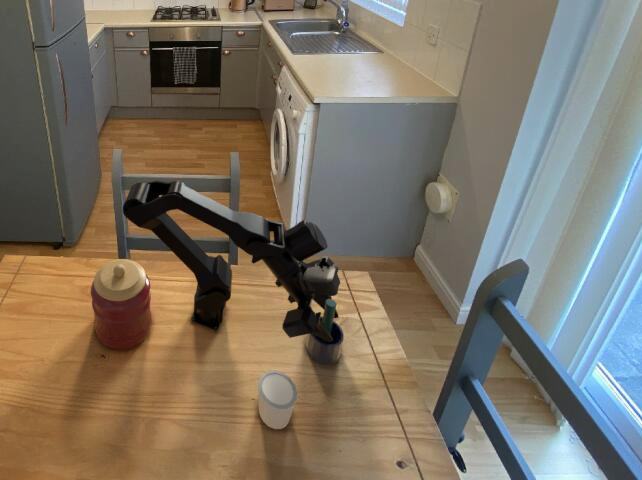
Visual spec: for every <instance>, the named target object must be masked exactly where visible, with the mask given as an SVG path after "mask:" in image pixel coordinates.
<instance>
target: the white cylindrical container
mask: <svg viewBox="0 0 642 480" xmlns="http://www.w3.org/2000/svg"><path fill="white" fill-rule="evenodd" d="M257 383H258V384H257V394H258V395H257V397H258V398H257V399H258V413H259V417H260V418H261V420H262V422H263V423H264V424H265V425H266V426H267V427H268V428H271V429H273V430H282V429H284V428H286V427H287V426H288V424H289V423H290V420H291V417H292V414H293V411H294V408H295V406H296V402H297V399H298V390H297V388H296V384H295V383H294V381H293V380H292V379H291V377H290V376H288V375H287V374H285V373H284V372H282V371H280V370H273V369H272V370H266V371H265V372H263V373H262V374H261V376H260V377H259V378H258V382H257Z"/></svg>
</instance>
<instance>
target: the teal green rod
mask: <svg viewBox="0 0 642 480" xmlns="http://www.w3.org/2000/svg"><path fill="white" fill-rule="evenodd" d="M335 309H336V310H337V302H336V301H335V300H334V299H327V300H326V303H325V309H323V315H322V317H323V319H322V323H323V325H324V326H325V327H326V329H327V330H328V332H329V333H330V334H331V329H332V324H333V321H334V319H335V318H334V314H335ZM319 341H320V342H322V343H325V344H329V342H328V341H326V340H324V339H322V338H320V337H319Z"/></svg>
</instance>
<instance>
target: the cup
mask: <svg viewBox="0 0 642 480" xmlns="http://www.w3.org/2000/svg"><path fill="white" fill-rule="evenodd" d="M322 319H323V316H320V320H321V322H322ZM330 335H331V337H332V338H333V341H332V342H329V344H325V343H322V342H320V341H319V337H318V336H316V335H314V334H312V333H310V334H306V338H305V343H304V344H305V349H306V352H307V353H308V355H309V356H310V357H311V358H312V359H313V361H316V362H317V363H320V364H322V365H333V364H336V363H337V362H338V360H339V359H340V357H341V352H342V347H343V343H344V335H345V334H344V332H343V329H342V327H341V326H340V325H339V324H338V322H336V321H335V320H333V324H332V329H331V334H330Z"/></svg>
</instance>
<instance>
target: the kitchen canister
mask: <svg viewBox="0 0 642 480" xmlns="http://www.w3.org/2000/svg"><path fill="white" fill-rule="evenodd" d="M90 296H91V306H92V307H91V308H92V310H93V325H94V326H93V327H94V331H95V334H96V336H97V338H98V339H99V341H100V342H101V343H102V344H103V345H104V346H105V347H107V348H109V349H111V350H117V351H118V350H119V351H125V350H129V349H133V348H134V347H137V346H138V345H139V344H141V343H142V342H143V341H144V340H145V339H146V338H147V336H148V334H149V332H150V329H151V325H152V311H151V299H152V296H151V281H150V278H149V276H148V275H147V273H146V271H145V269H144V268H143V267H142V265H140V264H139V263H138V262H136V261H134V260H131V259H126V258H119V259H113V260H110V261H108V262H106V263H105V264H103V265H102V266H101V267H100V268H99V269H98V270H97V271H96V272H95V275H94V278H93V281H92V283H91V286H90Z"/></svg>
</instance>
